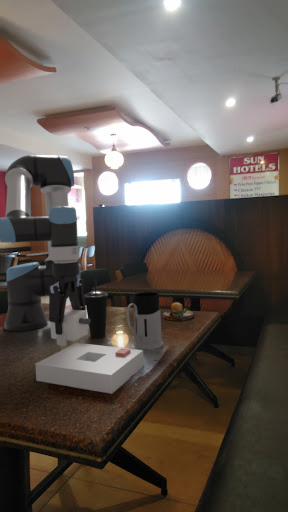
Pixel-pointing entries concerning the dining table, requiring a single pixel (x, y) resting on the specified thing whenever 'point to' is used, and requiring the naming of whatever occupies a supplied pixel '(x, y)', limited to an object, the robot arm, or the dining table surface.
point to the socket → (90, 367)
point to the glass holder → (146, 320)
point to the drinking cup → (96, 311)
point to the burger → (178, 313)
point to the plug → (73, 326)
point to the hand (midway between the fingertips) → (69, 340)
